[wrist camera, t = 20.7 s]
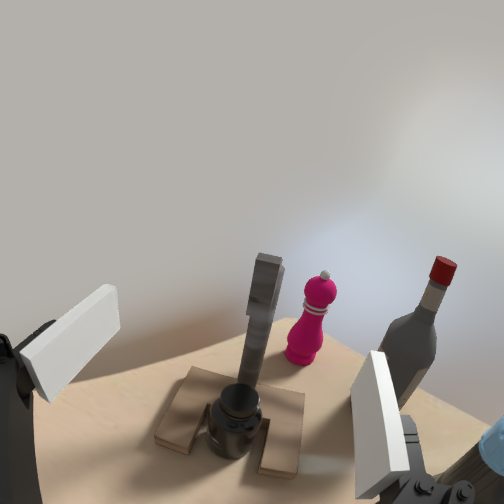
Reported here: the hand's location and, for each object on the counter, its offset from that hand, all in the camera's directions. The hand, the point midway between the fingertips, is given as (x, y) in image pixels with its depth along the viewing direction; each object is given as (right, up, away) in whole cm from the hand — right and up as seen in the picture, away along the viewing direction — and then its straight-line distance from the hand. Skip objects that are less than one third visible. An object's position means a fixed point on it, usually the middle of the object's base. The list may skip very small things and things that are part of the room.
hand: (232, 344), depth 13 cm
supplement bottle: (-2, -24, +22) cm, 32 cm away
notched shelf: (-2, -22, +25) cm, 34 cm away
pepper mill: (+11, -17, +44) cm, 48 cm away
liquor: (+24, -25, +31) cm, 46 cm away
